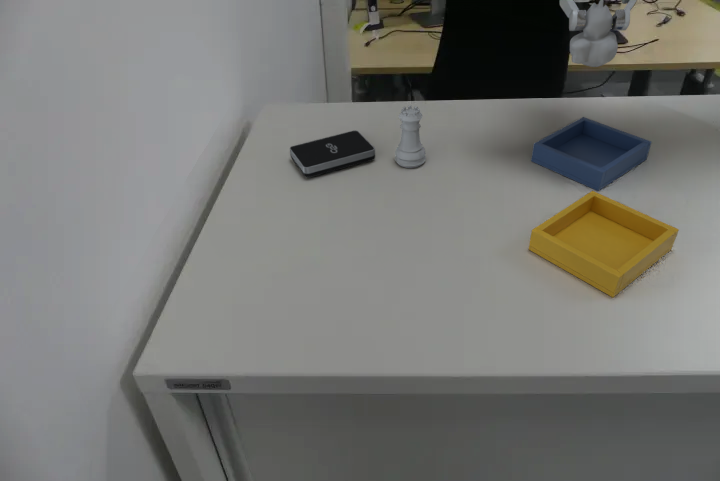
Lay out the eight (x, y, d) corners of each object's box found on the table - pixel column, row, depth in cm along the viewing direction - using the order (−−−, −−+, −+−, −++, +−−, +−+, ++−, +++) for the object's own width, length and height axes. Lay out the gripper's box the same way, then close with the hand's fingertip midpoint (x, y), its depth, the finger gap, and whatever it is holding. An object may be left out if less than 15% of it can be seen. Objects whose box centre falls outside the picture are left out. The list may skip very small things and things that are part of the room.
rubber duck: (627, 61, 67) (638, -9, 62) (591, 81, 64) (599, 10, 59) (588, 51, 70) (596, -16, 65) (552, 69, 68) (558, 1, 63)
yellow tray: (587, 209, 69) (592, 190, 67) (671, 249, 62) (679, 229, 61) (528, 249, 64) (531, 229, 62) (613, 297, 57) (619, 277, 55)
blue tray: (579, 133, 84) (583, 116, 83) (646, 159, 78) (652, 141, 76) (530, 161, 79) (533, 143, 77) (598, 191, 72) (602, 172, 70)
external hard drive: (377, 161, 81) (376, 149, 80) (304, 181, 78) (303, 169, 76) (357, 141, 86) (356, 129, 85) (289, 159, 83) (287, 147, 81)
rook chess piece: (432, 162, 80) (434, 110, 75) (407, 172, 78) (407, 120, 73) (412, 150, 83) (413, 99, 78) (388, 160, 81) (387, 108, 76)
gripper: (512, -100, 64) (509, 15, 62) (705, -108, 61) (707, 12, 59) (506, -64, 70) (502, 41, 69) (681, -70, 67) (681, 40, 66)
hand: (599, 28), depth 64 cm, fingers closed on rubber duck, 3 cm apart
